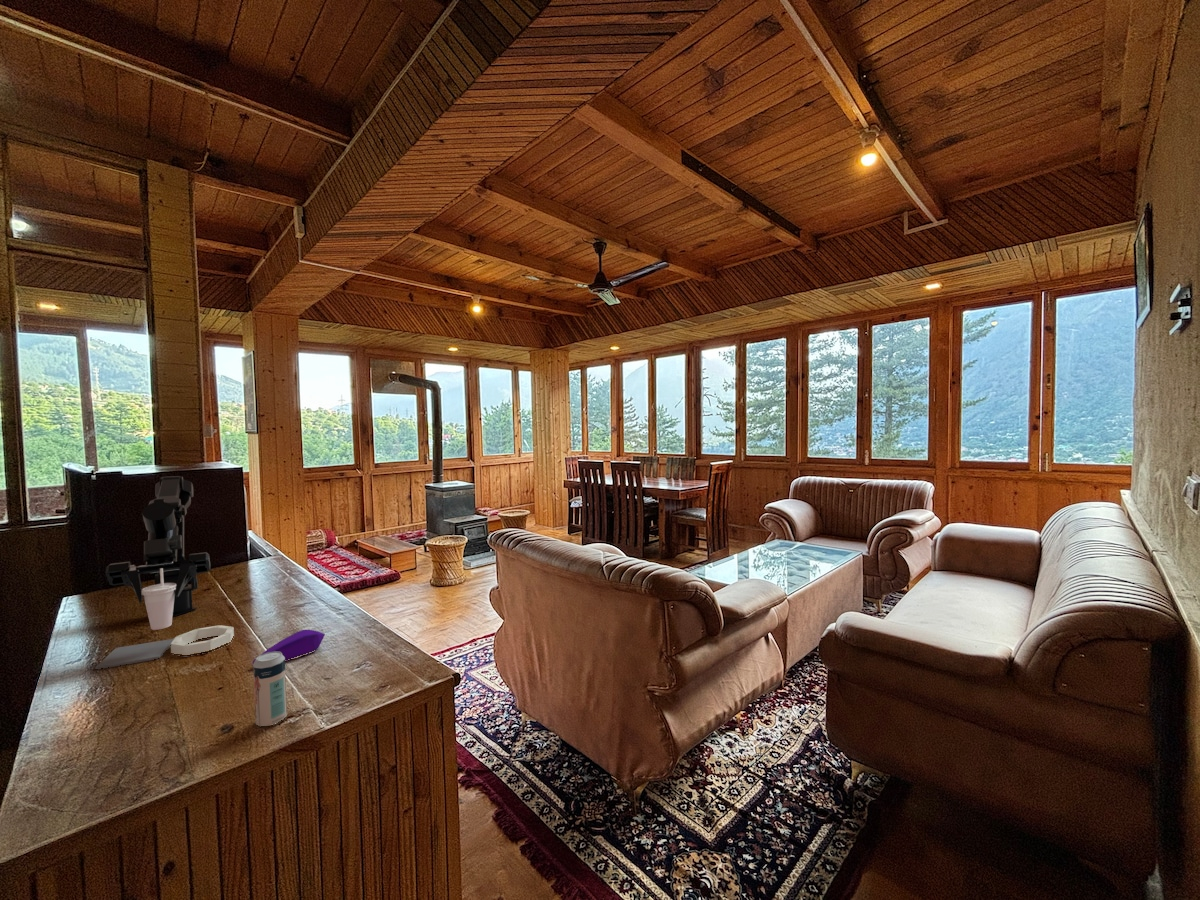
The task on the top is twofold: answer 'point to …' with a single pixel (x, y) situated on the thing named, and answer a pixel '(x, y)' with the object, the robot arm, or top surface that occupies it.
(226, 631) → the ring holder
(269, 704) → the pill bottle
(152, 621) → the smoothie
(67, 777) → the top surface
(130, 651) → the mat
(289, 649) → the purple tapered wedge
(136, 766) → the top surface
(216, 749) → the top surface
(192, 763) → the top surface
